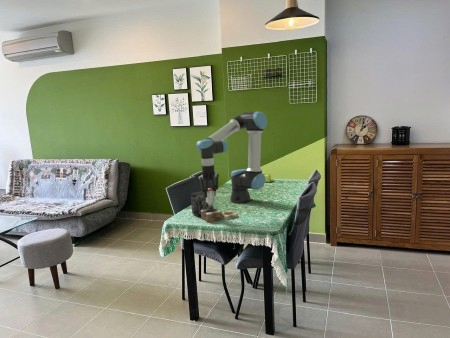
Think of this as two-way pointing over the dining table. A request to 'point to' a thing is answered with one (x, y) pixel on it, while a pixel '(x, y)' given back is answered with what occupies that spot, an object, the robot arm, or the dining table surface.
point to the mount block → (229, 214)
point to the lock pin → (210, 199)
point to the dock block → (211, 215)
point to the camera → (198, 203)
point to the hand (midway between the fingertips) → (210, 201)
